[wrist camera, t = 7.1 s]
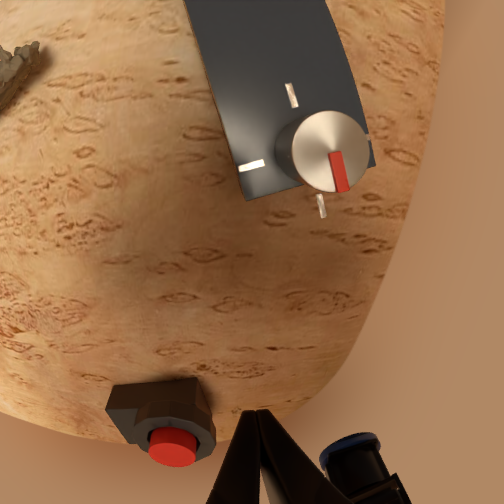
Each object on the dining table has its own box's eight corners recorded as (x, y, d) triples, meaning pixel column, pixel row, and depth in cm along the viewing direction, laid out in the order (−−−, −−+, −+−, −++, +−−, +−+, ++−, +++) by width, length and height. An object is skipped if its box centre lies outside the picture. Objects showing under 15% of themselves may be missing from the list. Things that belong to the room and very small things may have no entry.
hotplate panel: (172, -33, 13) (166, -55, 10) (280, -52, 13) (288, -74, 10) (251, 224, 20) (256, 238, 17) (362, 192, 20) (383, 200, 17)
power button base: (203, 368, 23) (201, 413, 19) (221, 417, 26) (223, 459, 21) (109, 379, 23) (94, 418, 18) (137, 424, 25) (129, 463, 21)
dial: (266, 127, 15) (282, 118, 11) (328, 113, 15) (362, 103, 11) (284, 190, 16) (305, 203, 12) (344, 174, 16) (380, 183, 12)
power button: (188, 424, 19) (186, 442, 18) (201, 449, 21) (201, 465, 19) (144, 427, 19) (140, 444, 18) (161, 451, 21) (159, 467, 19)
